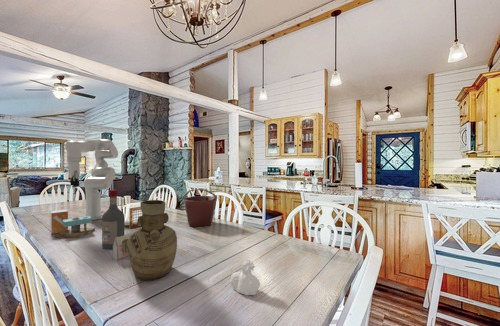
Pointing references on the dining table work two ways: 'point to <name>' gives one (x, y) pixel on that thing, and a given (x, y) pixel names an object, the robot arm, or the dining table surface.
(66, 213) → the small box
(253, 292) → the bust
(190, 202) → the bucket
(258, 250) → the dining table surface
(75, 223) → the keyed plate
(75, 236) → the post base
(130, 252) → the ceramic vessel
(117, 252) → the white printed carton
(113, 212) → the liquor
